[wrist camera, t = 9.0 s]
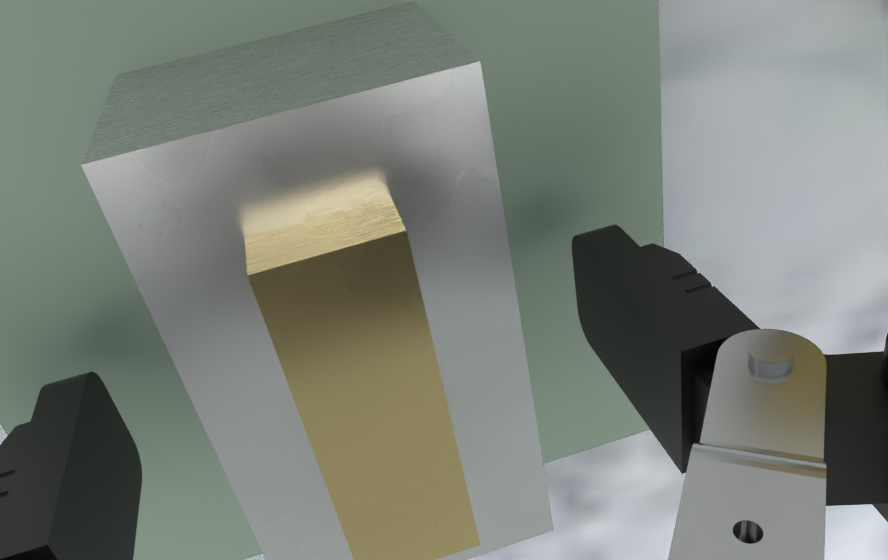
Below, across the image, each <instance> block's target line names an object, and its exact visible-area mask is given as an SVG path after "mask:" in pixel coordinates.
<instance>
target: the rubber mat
mask: <svg viewBox="0 0 888 560" xmlns="http://www.w3.org/2000/svg"><path fill="white" fill-rule="evenodd" d="M412 1H414V2H415V3H416V4H417V5H418V6H419V7H420V8H421V9H423V10H424V11H425V12H426V13H427V14H428V15H429V16H430V17H431V18H433V19H434V20H435V21H436V22H437V23H438V24H439V25H440V26H442V27H443V28H444V29H445V30H446V31H447V32H448V33H449V34H451V35H452V36H453V37H454V38H455V39H456V40H457V41H458V42H459V43H461V44H462V45H463V46H464V47H465V48H466V49H467V50H468V51H470V52H471V53H472V54H473V55H474V56H475V57H476V58H477V59H479V60H480V62H481V68H482V75H483V81H484V88H485V94H486V100H487V107H488V113H489V120H490V126H491V133H492V139H493V145H494V152H495V158H496V165H497V171H498V177H499V184H500V190H501V197H502V203H503V209H504V216H505V222H506V229H507V235H508V242H509V248H510V254H511V261H512V267H513V274H514V280H515V286H516V293H517V299H518V306H519V312H520V319H521V325H522V331H523V338H524V344H525V351H526V357H527V363H528V370H529V376H530V383H531V389H532V396H533V402H534V408H535V415H536V421H537V428H538V434H539V440H540V447H541V453H542V460H543V463H546V462H550V461H553V460H556V459H559V458H562V457H565V456H568V455H572V454H575V453H578V452H581V451H584V450H587V449H590V448H593V447H597V446H600V445H603V444H606V443H609V442H612V441H615V440H618V439H622V438H625V437H628V436H631V435H634V434H637V433H640V432H643V431H647V430H650V428H649V427H648V425H647V424H646V423H645V421H644V420H643V418H642V417H641V416H640V414H639V413H638V412H637V410H636V409H635V407H634V406H633V405H632V403H631V402H630V400H629V399H628V398H627V396H626V395H625V393H624V392H623V391H622V389H621V388H620V386H619V385H618V384H617V382H616V381H615V380H614V378H613V377H612V375H611V374H610V373H609V371H608V370H607V368H606V367H605V366H604V364H603V363H602V361H601V360H600V359H599V357H598V356H597V354H596V353H595V352H594V350H593V349H592V348H591V346H590V345H589V343H588V341H587V339H586V337H585V335H584V332H583V330H582V327H581V324H580V320H579V315H578V309H577V299H576V289H575V279H574V268H573V258H572V239H573V237H574V236H575V235H579V234H582V233H586V232H589V231H593V230H596V229H600V228H603V227H607V226H610V225H614V224H616V225H618V226H619V227H621V228H622V229H623V230H624V231H625V232H626V233H627V234H628V235H629V236H630V237H631V238H632V239H633V240H634V241H635V242H636V243H637V244H638V245H639V246H640V247H641V246H645V245H648V244H652V243H654V244H656V245H659V246H661V247H663V248H664V237H663V194H662V152H661V110H660V67H659V25H658V0H0V423H1V425H2V427H3V428H4V430H5V431H6V433H7V434H8V435H9V434H10V433H11V431H12V430H13V429H14V428H15V427H16V426H17V425H20V424H24V423H27V422H30V421H31V418H32V415H33V412H34V408H35V405H36V402H37V399H38V396H39V392H40V390H41V388H42V387H43V386H44V385H46V384H49V383H53V382H56V381H60V380H63V379H67V378H70V377H74V376H77V375H81V374H85V373H88V372H95V373H96V374H97V375H98V376H99V377H100V378H101V379H102V381H103V383H104V385H105V387H106V388H107V390H108V392H109V394H110V396H111V398H112V400H113V402H114V404H115V405H116V407H117V409H118V411H119V413H120V415H121V417H122V419H123V421H124V422H125V424H126V426H127V428H128V430H129V432H130V434H131V436H132V438H133V440H134V442H135V444H136V446H137V449H138V452H139V456H140V460H141V466H142V486H141V495H140V503H139V512H138V521H137V530H136V539H135V548H134V557H133V560H243V559H246V558H249V557H253V556H256V555H259V554H262V553H263V552H262V550H261V548H260V546H259V544H258V542H257V540H256V537H255V535H254V533H253V531H252V529H251V527H250V525H249V522H248V520H247V518H246V516H245V514H244V512H243V510H242V508H241V505H240V503H239V501H238V499H237V497H236V495H235V493H234V490H233V488H232V486H231V484H230V482H229V480H228V478H227V476H226V473H225V471H224V469H223V467H222V465H221V463H220V461H219V458H218V456H217V454H216V452H215V450H214V448H213V446H212V444H211V441H210V439H209V437H208V435H207V433H206V431H205V429H204V426H203V424H202V422H201V420H200V418H199V416H198V414H197V412H196V409H195V407H194V405H193V403H192V401H191V399H190V397H189V394H188V392H187V390H186V388H185V386H184V384H183V382H182V380H181V377H180V375H179V373H178V371H177V369H176V367H175V365H174V362H173V360H172V358H171V356H170V354H169V352H168V350H167V348H166V345H165V343H164V341H163V339H162V337H161V335H160V333H159V330H158V328H157V326H156V324H155V322H154V320H153V318H152V316H151V313H150V311H149V309H148V307H147V305H146V303H145V301H144V298H143V296H142V294H141V292H140V290H139V288H138V286H137V284H136V281H135V279H134V277H133V275H132V273H131V271H130V269H129V266H128V264H127V262H126V260H125V258H124V256H123V254H122V251H121V249H120V247H119V245H118V243H117V241H116V239H115V237H114V234H113V232H112V230H111V228H110V226H109V224H108V222H107V219H106V217H105V215H104V213H103V211H102V209H101V207H100V205H99V202H98V200H97V198H96V196H95V194H94V192H93V190H92V187H91V185H90V183H89V181H88V179H87V177H86V175H85V173H84V170H83V168H82V166H81V163H82V161H83V158H84V156H85V153H86V151H87V148H88V146H89V143H90V141H91V138H92V136H93V133H94V131H95V128H96V126H97V123H98V121H99V118H100V116H101V113H102V111H103V108H104V106H105V103H106V101H107V98H108V95H109V93H110V90H111V88H112V85H113V83H114V80H115V78H116V75H118V74H122V73H126V72H130V71H134V70H138V69H142V68H146V67H150V66H154V65H158V64H162V63H166V62H170V61H174V60H178V59H182V58H186V57H190V56H194V55H198V54H202V53H206V52H210V51H214V50H219V49H223V48H227V47H231V46H235V45H239V44H243V43H247V42H251V41H255V40H259V39H263V38H267V37H271V36H275V35H279V34H283V33H287V32H291V31H295V30H299V29H303V28H307V27H311V26H315V25H319V24H323V23H327V22H332V21H336V20H340V19H344V18H348V17H352V16H356V15H360V14H364V13H368V12H372V11H376V10H380V9H384V8H388V7H392V6H396V5H400V4H404V3H408V2H412Z"/></svg>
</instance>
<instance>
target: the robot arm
mask: <svg viewBox="0 0 888 560" xmlns="http://www.w3.org/2000/svg"><path fill="white" fill-rule="evenodd" d="M572 258H573V268H574V279H575V289H576V299H577V309H578V315H579V320H580V324H581V327H582V330H583V332H584V335H585V337H586V339H587V341H588V343H589V345H590V346H591V348H592V349H593V350H594V352H595V353H596V354H597V356H598V357H599V359H600V360H601V361H602V363H603V364H604V366H605V367H606V368H607V370H608V371H609V373H610V374H611V375H612V377H613V378H614V380H615V381H616V382H617V384H618V385H619V386H620V388H621V389H622V391H623V392H624V393H625V395H626V396H627V398H628V399H629V400H630V402H631V403H632V405H633V406H634V407H635V409H636V410H637V412H638V413H639V414H640V416H641V417H642V418H643V420H644V421H645V423H646V424H647V425H648V427H649V428H650V430H651V431H652V432H653V434H654V435H655V437H656V438H657V439H658V441H659V442H660V444H661V445H662V446H663V448H664V449H665V450H666V452H667V453H668V455H669V456H670V457H671V459H672V460H673V462H674V463H675V464H676V466H677V467H678V469H679V470H680V471H681V473H686V476H685V481H684V486H683V491H682V496H681V500H680V505H679V510H678V515H677V519H676V524H675V529H674V534H673V539H672V543H671V548H670V553H669V558H668V560H824V547H825V511H826V506H832V505H860V504H872V505H873V506H874V507H875V508H876V509H877V510H878V511H879V513H880V514H881V515H882V516H883V517H884V518H885V519H886V521H887V522H888V334H887V337H886V342H885V348H884V351H883V352H868V353H853V354H839V355H824V354H823V353H822V352H821V350H820V349H819V348H818V347H817V346H816V345H815V344H814V343H812V342H811V341H809V340H808V339H806V338H804V337H802V336H799V335H797V334H794V333H791V332H787V331H782V330H776V329H760V328H759V327H758V326H757V325H755V324H754V323H753V322H752V321H751V320H750V319H749V318H748V317H747V316H746V315H745V314H744V313H743V312H741V311H740V310H739V309H738V308H737V307H736V306H735V305H734V304H733V303H732V302H731V301H730V300H728V299H727V298H726V297H725V296H724V295H723V294H722V293H721V292H720V291H719V290H718V289H717V288H716V287H712V286H711V283H710V282H709V281H708V280H707V279H706V278H705V277H704V276H703V275H701V274H700V273H699V274H698V273H697V270H696V269H695V268H694V267H693V266H692V265H691V264H690V263H688V262H687V261H686V260H685V259H684V258H683V257H682V256H681V255H680V254H678V253H676V252H673V251H671V250H668V249H666V248H663V247H661V246H659V245H656V244H654V243H652V244H648V245H645V246H641V247H640V246H639V245H638V244H637V243H636V242H635V241H634V240H633V239H632V238H631V237H630V236H629V235H628V234H627V233H626V232H625V231H624V230H623V229H622V228H621V227H619V226H618V225H616V224H614V225H610V226H607V227H603V228H600V229H596V230H593V231H589V232H586V233H582V234H579V235H575V236H574V237H573V239H572ZM141 486H142V466H141V460H140V456H139V452H138V449H137V446H136V444H135V442H134V440H133V438H132V436H131V434H130V432H129V430H128V428H127V426H126V424H125V422H124V421H123V419H122V417H121V415H120V413H119V411H118V409H117V407H116V405H115V404H114V402H113V400H112V398H111V396H110V394H109V392H108V390H107V388H106V387H105V385H104V383H103V381H102V379H101V378H100V377H99V376H98V375H97V374H96V373H95V372H88V373H85V374H81V375H77V376H74V377H70V378H67V379H63V380H60V381H56V382H53V383H49V384H46V385H44V386H43V387H42V388H41V390H40V392H39V396H38V399H37V402H36V405H35V408H34V412H33V415H32V418H31V421H30V422H27V423H24V424H20V425H17V426H16V427H15V428H14V429H13V430H12V431H11V433H10V434H9V435H8V436H7V438H6V439H5V440H4V441H3V442H2V444H1V445H0V560H133V557H134V548H135V539H136V530H137V521H138V512H139V503H140V495H141Z"/></svg>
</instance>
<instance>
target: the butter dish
mask: <svg viewBox="0 0 888 560" xmlns="http://www.w3.org/2000/svg"><path fill="white" fill-rule="evenodd" d="M81 166H82V168H83V170H84V173H85V175H86V177H87V179H88V181H89V183H90V185H91V187H92V190H93V192H94V194H95V196H96V198H97V200H98V202H99V205H100V207H101V209H102V211H103V213H104V215H105V217H106V219H107V222H108V224H109V226H110V228H111V230H112V232H113V234H114V237H115V239H116V241H117V243H118V245H119V247H120V249H121V251H122V254H123V256H124V258H125V260H126V262H127V264H128V266H129V269H130V271H131V273H132V275H133V277H134V279H135V281H136V284H137V286H138V288H139V290H140V292H141V294H142V296H143V298H144V301H145V303H146V305H147V307H148V309H149V311H150V313H151V316H152V318H153V320H154V322H155V324H156V326H157V328H158V330H159V333H160V335H161V337H162V339H163V341H164V343H165V345H166V348H167V350H168V352H169V354H170V356H171V358H172V360H173V362H174V365H175V367H176V369H177V371H178V373H179V375H180V377H181V380H182V382H183V384H184V386H185V388H186V390H187V392H188V394H189V397H190V399H191V401H192V403H193V405H194V407H195V409H196V412H197V414H198V416H199V418H200V420H201V422H202V424H203V426H204V429H205V431H206V433H207V435H208V437H209V439H210V441H211V444H212V446H213V448H214V450H215V452H216V454H217V456H218V458H219V461H220V463H221V465H222V467H223V469H224V471H225V473H226V476H227V478H228V480H229V482H230V484H231V486H232V488H233V490H234V493H235V495H236V497H237V499H238V501H239V503H240V505H241V508H242V510H243V512H244V514H245V516H246V518H247V520H248V522H249V525H250V527H251V529H252V531H253V533H254V535H255V537H256V540H257V542H258V544H259V546H260V548H261V550H262V552H263V554H264V557H265V559H266V560H466V559H469V558H472V557H475V556H478V555H481V554H484V553H487V552H490V551H493V550H496V549H499V548H502V547H505V546H508V545H511V544H514V543H517V542H520V541H523V540H526V539H529V538H532V537H534V536H537V535H540V534H543V533H546V532H549V531H552V530H553V524H552V517H551V511H550V505H549V498H548V492H547V485H546V479H545V472H544V466H543V460H542V453H541V447H540V440H539V434H538V428H537V421H536V415H535V408H534V402H533V396H532V389H531V383H530V376H529V370H528V363H527V357H526V351H525V344H524V338H523V331H522V325H521V319H520V312H519V306H518V299H517V293H516V286H515V280H514V274H513V267H512V261H511V254H510V248H509V242H508V235H507V229H506V222H505V216H504V209H503V203H502V197H501V190H500V184H499V177H498V171H497V165H496V158H495V152H494V145H493V139H492V133H491V126H490V120H489V113H488V107H487V100H486V94H485V88H484V81H483V75H482V68H481V62H480V60H479V59H477V58H476V57H475V56H474V55H473V54H472V53H471V52H470V51H468V50H467V49H466V48H465V47H464V46H463V45H462V44H461V43H459V42H458V41H457V40H456V39H455V38H454V37H453V36H452V35H451V34H449V33H448V32H447V31H446V30H445V29H444V28H443V27H442V26H440V25H439V24H438V23H437V22H436V21H435V20H434V19H433V18H431V17H430V16H429V15H428V14H427V13H426V12H425V11H424V10H423V9H421V8H420V7H419V6H418V5H417V4H416V3H415V2H414V1H412V2H408V3H404V4H400V5H396V6H392V7H388V8H384V9H380V10H376V11H372V12H368V13H364V14H360V15H356V16H352V17H348V18H344V19H340V20H336V21H332V22H327V23H323V24H319V25H315V26H311V27H307V28H303V29H299V30H295V31H291V32H287V33H283V34H279V35H275V36H271V37H267V38H263V39H259V40H255V41H251V42H247V43H243V44H239V45H235V46H231V47H227V48H223V49H219V50H214V51H210V52H206V53H202V54H198V55H194V56H190V57H186V58H182V59H178V60H174V61H170V62H166V63H162V64H158V65H154V66H150V67H146V68H142V69H138V70H134V71H130V72H126V73H122V74H118V75H116V78H115V80H114V83H113V85H112V88H111V90H110V93H109V95H108V98H107V101H106V103H105V106H104V108H103V111H102V113H101V116H100V118H99V121H98V123H97V126H96V128H95V131H94V133H93V136H92V138H91V141H90V143H89V146H88V148H87V151H86V153H85V156H84V158H83V161H82V163H81Z"/></svg>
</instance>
